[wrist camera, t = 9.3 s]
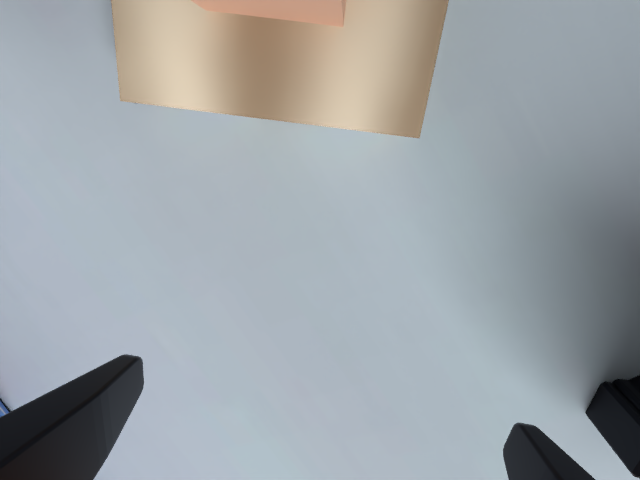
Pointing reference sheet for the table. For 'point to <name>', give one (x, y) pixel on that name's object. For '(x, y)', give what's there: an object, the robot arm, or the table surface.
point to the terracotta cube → (283, 9)
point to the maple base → (283, 62)
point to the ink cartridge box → (3, 409)
